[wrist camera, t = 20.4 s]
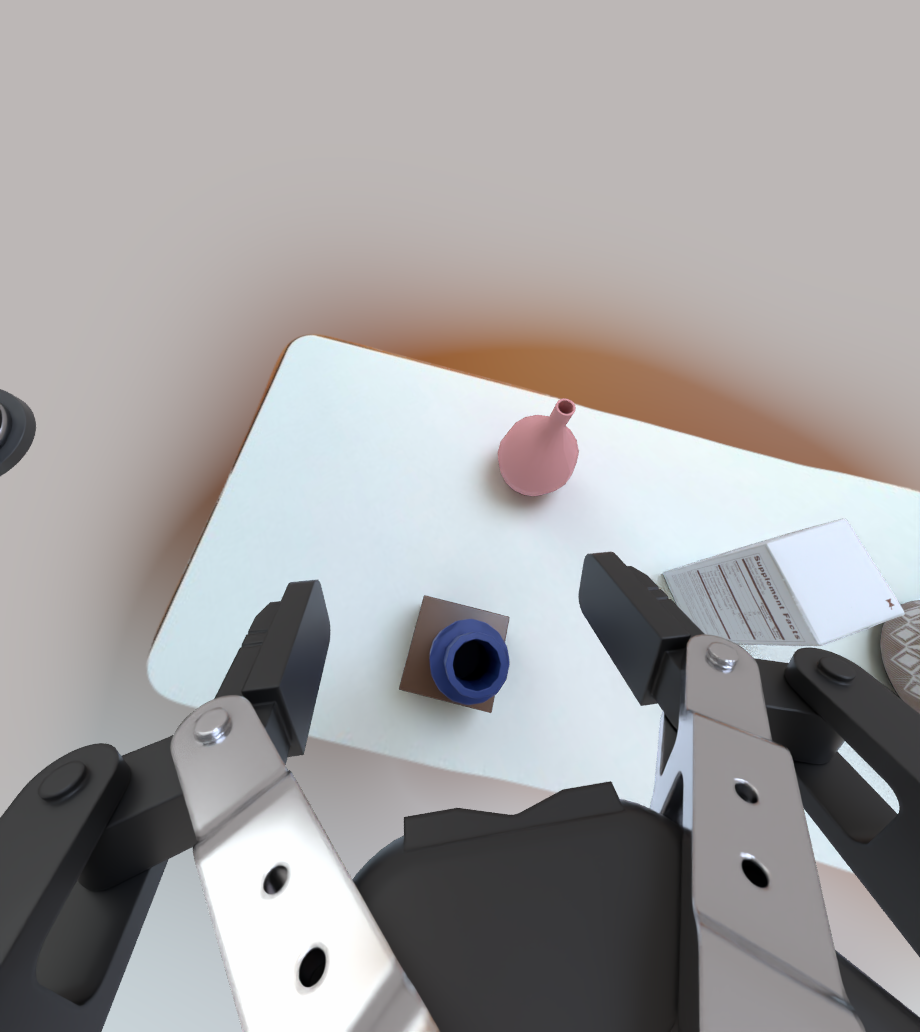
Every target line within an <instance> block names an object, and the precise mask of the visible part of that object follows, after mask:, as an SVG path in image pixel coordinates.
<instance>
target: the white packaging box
mask: <svg viewBox="0 0 920 1032" xmlns="http://www.w3.org/2000/svg"><path fill="white" fill-rule="evenodd" d="M663 574H664V577H665V580H666V582H667V584H668V587H669V589H670V591H671V593H672V595H673V598H674V600H675V602H676V604H677V606H678V607H679V608H680V609H681V610H682V611H683V612H684V613H685V614H686V615H687V616H688V617H689V618H690V619H691V620H692V622H693V623H694V624H695V625H696V626H697V627H698V628H699V629H700V630H701V631H702V632H703V633H704V634H706V635H714V636H718V637H722V638H725V639H727V640H729V641H732V642H734V643H735V644H751V645H785V646H822V645H826V644H828V643H831V642H834V641H836V640H839V639H841V638H844V637H846V636H849V635H852V634H854V633H857V632H860V631H863V630H866V629H869V628H870V627H873V626H875V625H878V624H881V623H883V622H886V621H889V620H891V619H894V618H897V617H900V616H903V615H905V613H904V611H903V609H902V607H901V605H900V603H899V601H898V600H897V598H896V596H895V595H894V593H893V591H892V590H891V588H890V587H889V585H888V583H887V582H886V580H885V579H884V577H883V576H882V574H881V572H880V571H879V569H878V568H877V566H876V565H875V563H874V561H873V560H872V558H871V557H870V555H869V553H868V552H867V550H866V549H865V547H864V546H863V544H862V542H861V541H860V539H859V538H858V536H857V535H856V533H855V531H854V530H853V528H852V527H851V525H850V524H849V522H848V521H847V520H846V519H840V520H836V521H832V522H828V523H825V524H821V525H817V526H813V527H810V528H806V529H803V530H799V531H795V532H792V533H788V534H785V535H782V536H778V537H775V538H771V539H768V540H765V541H761V542H758V543H755V544H751V545H748V546H745V547H741V548H738V549H735V550H732V551H728V552H725V553H722V554H719V555H716V556H712V557H709V558H706V559H703V560H700V561H697V562H694V563H691V564H688V565H685V566H682V567H679V568H676V569H673V570H669V571H666V572H664V573H663Z"/></svg>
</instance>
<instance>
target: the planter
mask: <svg viewBox="0 0 920 1032" xmlns="http://www.w3.org/2000/svg"><path fill="white" fill-rule="evenodd" d="M901 607H902V609H903V611H904V613H905V615H903V616H900V617H897V618H894V619H891V620H889V621H886V622H884V625H883V628H882V632H881V641H880V645H881V655H882V660H883V663H884V667H885V670H886V672H887V675H888V677H889V679H890V681H891V683H892V685H893V687H894V689H895V690H896V692H897V693H898V695H899V696H900V698H901V699H902V700H903V701H904V702H905V703H907V704H908V705H909V706H910V707H912V708H913V709H914V710H916V711H917V712H918V713H919V714H920V600H916V601H911V602H907V603H904V604H902V605H901Z"/></svg>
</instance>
